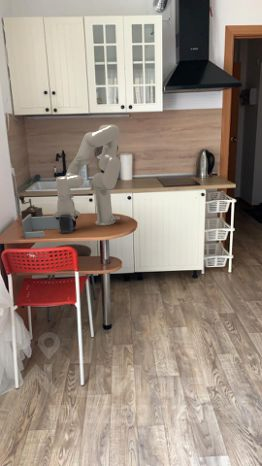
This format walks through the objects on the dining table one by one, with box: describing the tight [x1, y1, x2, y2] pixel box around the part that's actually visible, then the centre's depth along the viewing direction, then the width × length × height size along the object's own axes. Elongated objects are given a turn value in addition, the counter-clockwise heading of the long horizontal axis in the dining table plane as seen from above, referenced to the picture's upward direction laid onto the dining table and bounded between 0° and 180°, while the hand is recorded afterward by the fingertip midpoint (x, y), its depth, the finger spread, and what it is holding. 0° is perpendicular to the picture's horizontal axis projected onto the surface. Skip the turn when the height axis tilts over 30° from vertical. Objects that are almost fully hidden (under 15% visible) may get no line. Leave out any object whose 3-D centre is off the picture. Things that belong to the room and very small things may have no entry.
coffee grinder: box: [18, 195, 44, 221], centre depth 252 cm, size 16×11×18 cm
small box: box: [59, 214, 77, 235], centre depth 226 cm, size 11×6×10 cm, turn 169°
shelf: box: [20, 214, 60, 239], centre depth 227 cm, size 24×17×10 cm
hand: (68, 226), depth 227 cm, fingers closed on small box, 7 cm apart
